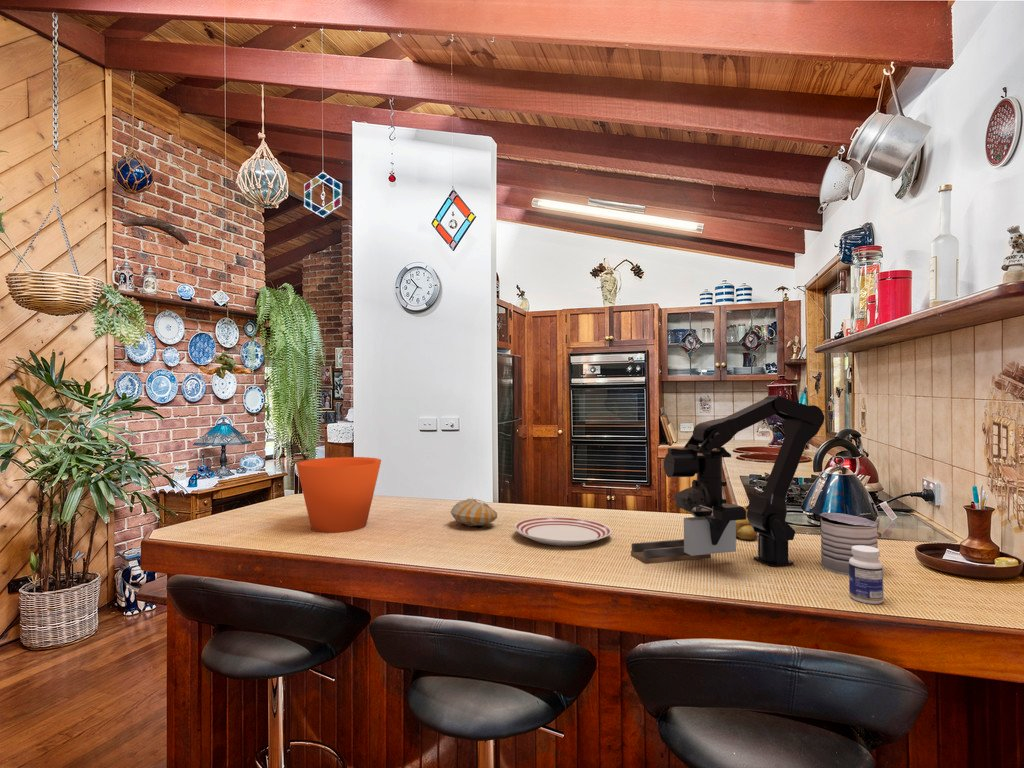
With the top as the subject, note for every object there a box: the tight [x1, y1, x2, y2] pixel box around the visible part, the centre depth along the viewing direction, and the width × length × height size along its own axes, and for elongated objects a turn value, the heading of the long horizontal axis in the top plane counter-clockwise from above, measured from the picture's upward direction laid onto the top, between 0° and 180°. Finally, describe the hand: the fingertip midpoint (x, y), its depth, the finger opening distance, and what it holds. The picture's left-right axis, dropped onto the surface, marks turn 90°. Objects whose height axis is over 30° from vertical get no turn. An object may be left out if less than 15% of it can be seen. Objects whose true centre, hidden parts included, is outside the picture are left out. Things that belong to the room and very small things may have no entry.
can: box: [818, 511, 879, 576], centre depth 127 cm, size 11×11×12 cm
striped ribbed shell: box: [450, 497, 498, 527], centre depth 173 cm, size 8×22×15 cm
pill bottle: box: [848, 545, 885, 605], centre depth 108 cm, size 6×6×10 cm
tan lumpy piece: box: [736, 505, 758, 540], centre depth 157 cm, size 13×10×8 cm
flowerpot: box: [295, 456, 382, 534], centre depth 169 cm, size 25×25×20 cm
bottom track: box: [630, 538, 712, 564], centre depth 137 cm, size 18×7×3 cm, turn 106°
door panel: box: [683, 516, 737, 556], centre depth 130 cm, size 12×3×8 cm, turn 106°
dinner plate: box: [513, 516, 613, 547], centre depth 156 cm, size 28×27×3 cm
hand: (710, 542), depth 130 cm, fingers closed on door panel, 3 cm apart
